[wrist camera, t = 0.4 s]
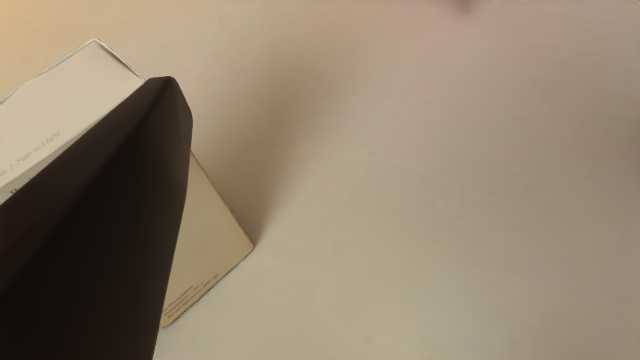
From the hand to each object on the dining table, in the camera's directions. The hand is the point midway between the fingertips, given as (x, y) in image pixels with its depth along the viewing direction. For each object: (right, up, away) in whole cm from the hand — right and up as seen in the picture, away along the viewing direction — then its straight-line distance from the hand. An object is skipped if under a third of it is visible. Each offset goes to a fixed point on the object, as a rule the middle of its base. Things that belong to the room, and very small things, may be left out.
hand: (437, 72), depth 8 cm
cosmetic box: (-9, -6, +19) cm, 21 cm away
